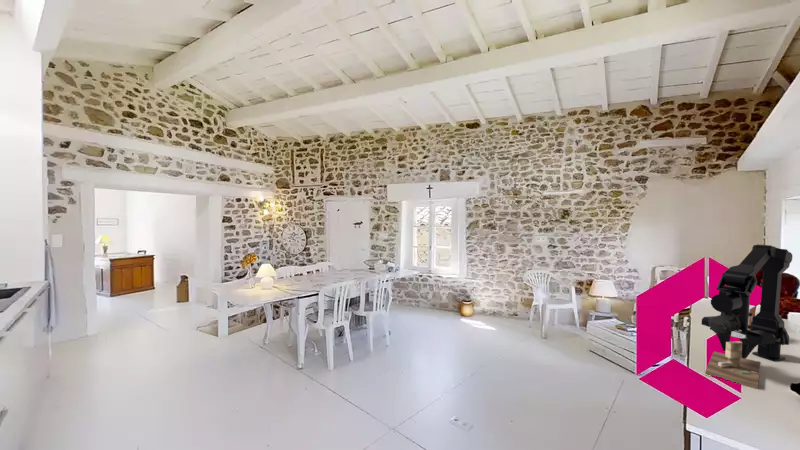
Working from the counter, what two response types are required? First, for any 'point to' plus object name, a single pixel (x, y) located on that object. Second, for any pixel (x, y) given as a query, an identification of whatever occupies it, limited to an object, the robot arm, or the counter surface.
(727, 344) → the beige wooden angled piece
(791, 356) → the counter surface
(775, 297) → the robot arm
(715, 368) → the board
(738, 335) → the small box
